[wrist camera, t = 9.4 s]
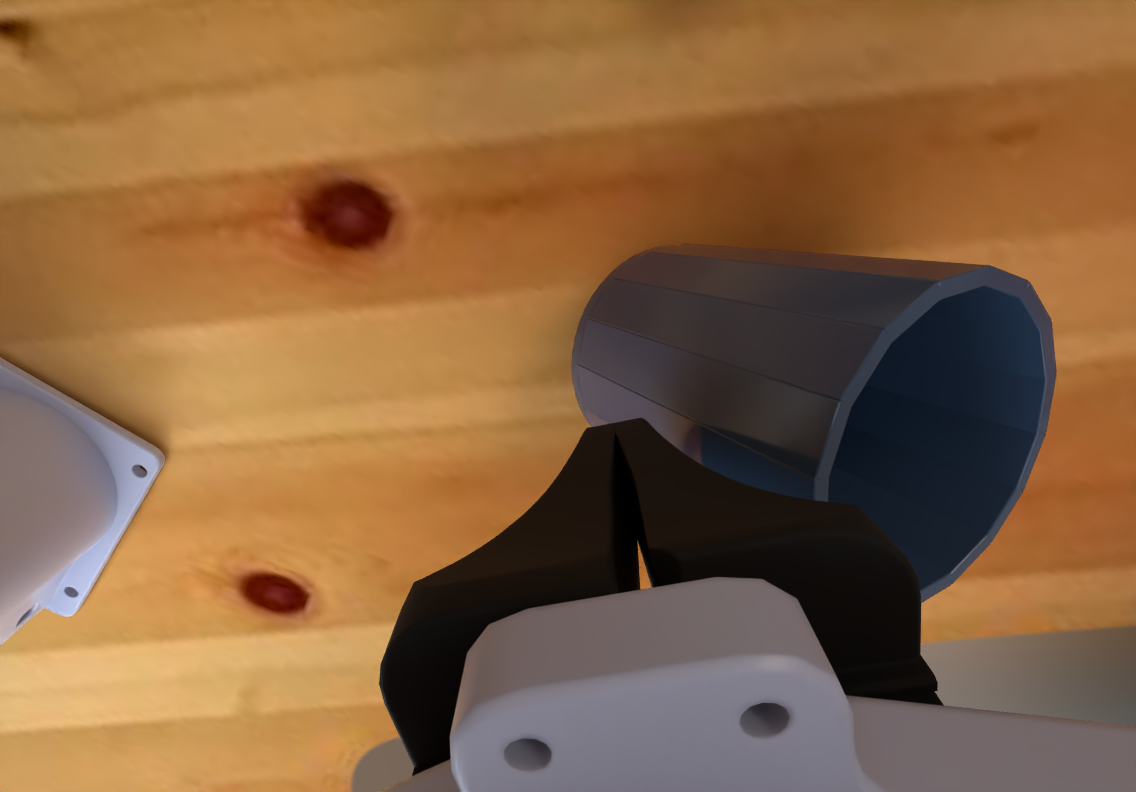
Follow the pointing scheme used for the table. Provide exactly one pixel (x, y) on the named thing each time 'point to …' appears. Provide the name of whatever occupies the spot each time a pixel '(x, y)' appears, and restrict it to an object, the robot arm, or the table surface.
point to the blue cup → (834, 382)
